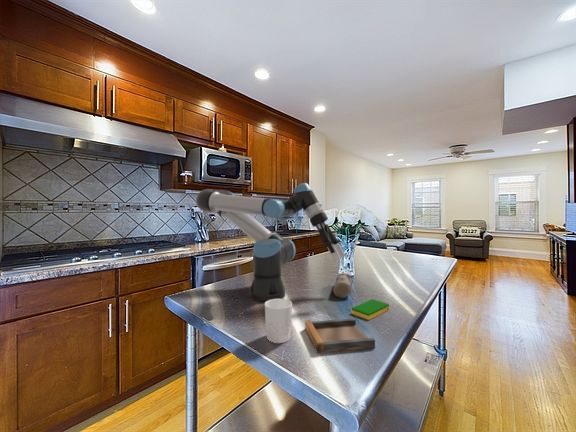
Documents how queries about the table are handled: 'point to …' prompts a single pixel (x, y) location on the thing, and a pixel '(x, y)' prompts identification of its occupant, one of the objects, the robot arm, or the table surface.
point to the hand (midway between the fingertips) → (340, 258)
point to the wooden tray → (337, 335)
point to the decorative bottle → (343, 285)
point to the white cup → (278, 320)
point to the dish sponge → (370, 309)
